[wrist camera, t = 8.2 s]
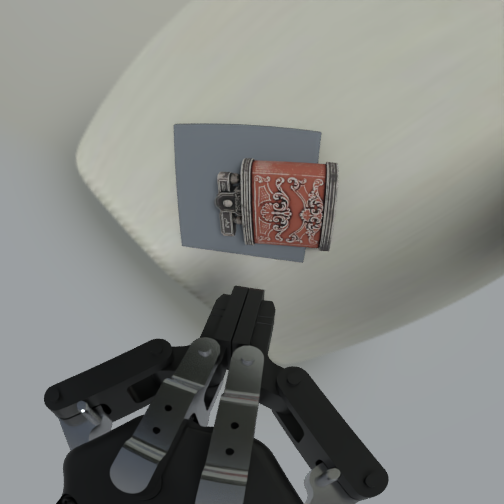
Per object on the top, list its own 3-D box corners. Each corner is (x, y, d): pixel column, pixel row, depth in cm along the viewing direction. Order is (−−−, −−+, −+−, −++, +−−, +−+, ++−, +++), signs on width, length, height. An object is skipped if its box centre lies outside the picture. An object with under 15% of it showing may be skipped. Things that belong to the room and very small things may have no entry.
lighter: (335, 157, 21) (219, 153, 23) (339, 171, 19) (206, 165, 20) (327, 237, 26) (226, 230, 28) (328, 259, 24) (216, 250, 25)
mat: (320, 131, 21) (321, 132, 21) (303, 259, 28) (303, 262, 28) (176, 123, 23) (173, 124, 23) (184, 243, 30) (182, 246, 30)
